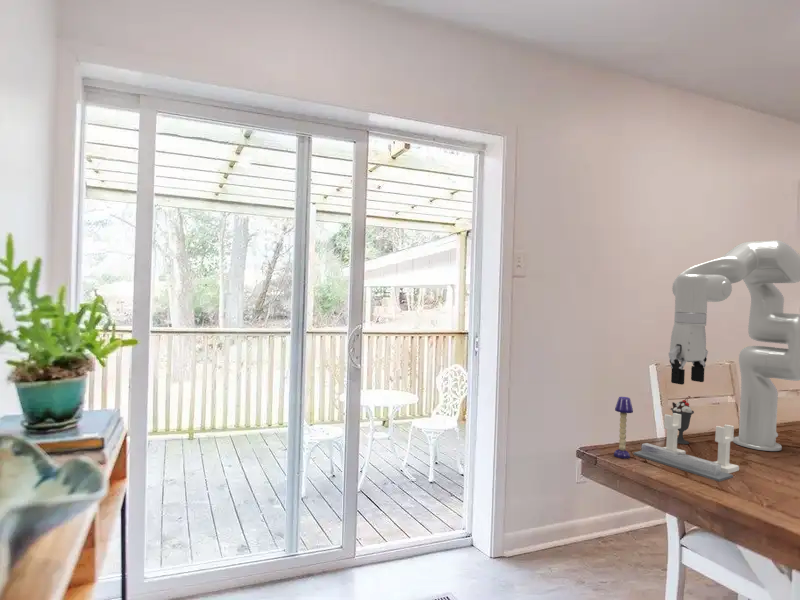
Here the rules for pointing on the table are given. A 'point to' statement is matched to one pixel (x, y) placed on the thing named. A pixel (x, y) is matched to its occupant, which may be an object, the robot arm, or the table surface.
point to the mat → (717, 478)
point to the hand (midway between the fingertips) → (687, 382)
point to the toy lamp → (623, 425)
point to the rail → (682, 459)
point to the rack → (722, 437)
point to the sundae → (683, 418)
